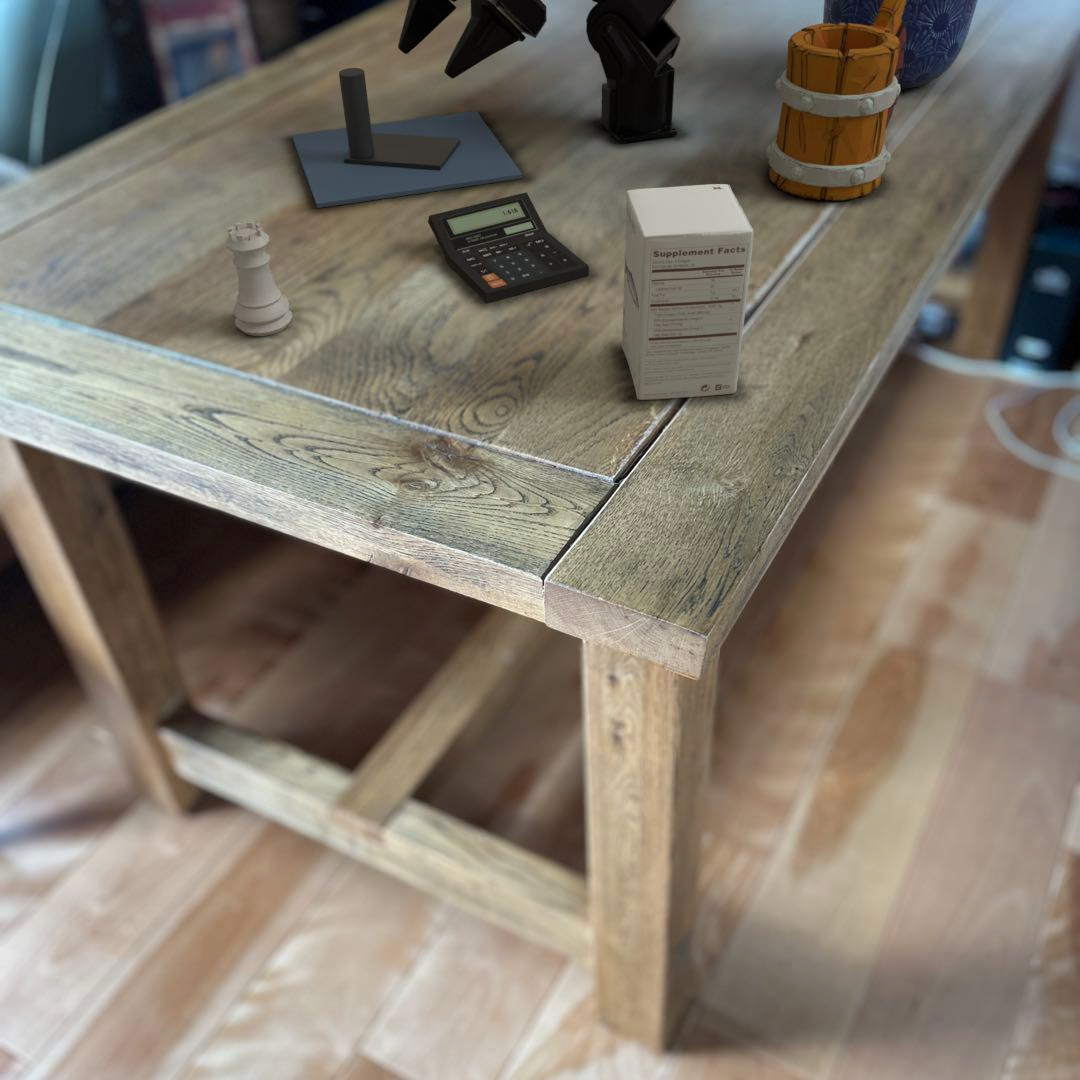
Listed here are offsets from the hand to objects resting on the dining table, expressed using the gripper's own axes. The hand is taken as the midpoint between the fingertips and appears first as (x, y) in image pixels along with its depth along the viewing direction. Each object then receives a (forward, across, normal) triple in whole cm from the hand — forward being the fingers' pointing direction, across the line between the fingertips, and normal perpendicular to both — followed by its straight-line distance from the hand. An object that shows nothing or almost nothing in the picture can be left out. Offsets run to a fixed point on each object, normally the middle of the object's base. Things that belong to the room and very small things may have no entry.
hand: (424, 63), depth 109 cm
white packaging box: (+11, +48, +1) cm, 49 cm away
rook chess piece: (+26, +24, -14) cm, 38 cm away
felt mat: (+9, +1, +3) cm, 9 cm away
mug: (-14, +30, +26) cm, 42 cm away
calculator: (+11, +26, +1) cm, 28 cm away
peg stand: (+8, +1, +3) cm, 9 cm away
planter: (-31, +14, +42) cm, 54 cm away
